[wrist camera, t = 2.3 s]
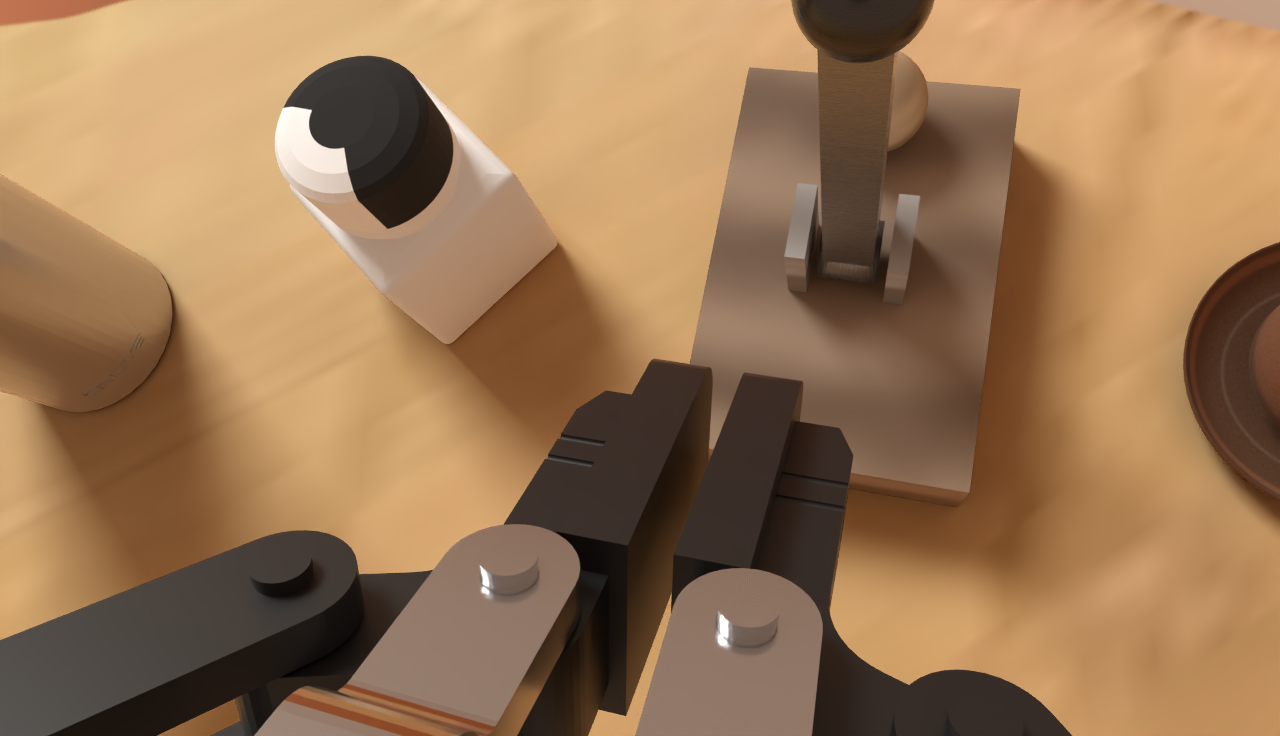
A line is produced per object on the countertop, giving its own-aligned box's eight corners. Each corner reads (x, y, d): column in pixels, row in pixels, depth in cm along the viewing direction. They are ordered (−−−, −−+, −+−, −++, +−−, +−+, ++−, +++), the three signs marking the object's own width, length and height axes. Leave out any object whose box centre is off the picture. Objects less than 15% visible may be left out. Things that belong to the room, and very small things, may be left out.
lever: (887, 305, 42) (933, 11, 23) (801, 294, 42) (776, 1, 23) (899, 227, 42) (953, -121, 23) (814, 217, 43) (801, -126, 24)
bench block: (957, 507, 43) (985, 473, 35) (686, 460, 46) (656, 419, 38) (1005, 134, 47) (1040, 28, 39) (755, 112, 50) (740, 9, 42)
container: (469, 151, 52) (358, -4, 40) (562, 244, 50) (474, 109, 38) (360, 250, 52) (214, 124, 40) (449, 349, 49) (322, 247, 37)
